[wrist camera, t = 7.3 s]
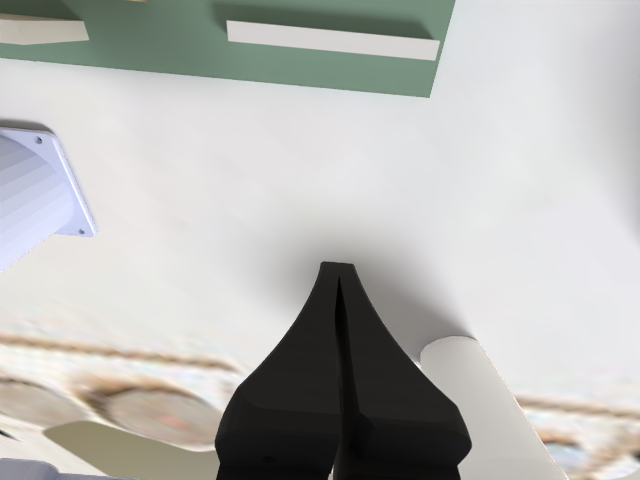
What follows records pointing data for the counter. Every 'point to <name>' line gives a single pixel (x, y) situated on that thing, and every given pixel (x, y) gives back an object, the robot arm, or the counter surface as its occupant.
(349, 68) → the pitch mat
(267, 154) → the counter surface
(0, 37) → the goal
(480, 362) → the foam cup
